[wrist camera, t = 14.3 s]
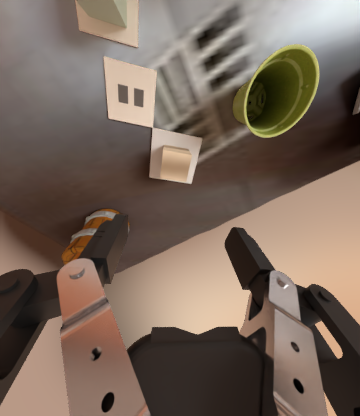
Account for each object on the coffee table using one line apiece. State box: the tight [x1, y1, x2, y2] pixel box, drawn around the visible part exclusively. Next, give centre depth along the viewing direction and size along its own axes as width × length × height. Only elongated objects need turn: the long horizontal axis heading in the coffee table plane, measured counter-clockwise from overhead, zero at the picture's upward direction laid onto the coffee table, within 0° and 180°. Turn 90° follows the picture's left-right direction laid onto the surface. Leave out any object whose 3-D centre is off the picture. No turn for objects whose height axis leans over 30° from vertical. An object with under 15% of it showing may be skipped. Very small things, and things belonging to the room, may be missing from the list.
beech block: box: [160, 145, 192, 182], centre depth 27 cm, size 5×5×6 cm
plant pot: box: [232, 44, 319, 138], centre depth 21 cm, size 9×9×9 cm
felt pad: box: [149, 128, 203, 184], centre depth 29 cm, size 10×10×1 cm
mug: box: [61, 209, 130, 265], centre depth 33 cm, size 11×16×15 cm, turn 165°
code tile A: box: [104, 57, 157, 128], centre depth 23 cm, size 8×8×1 cm
